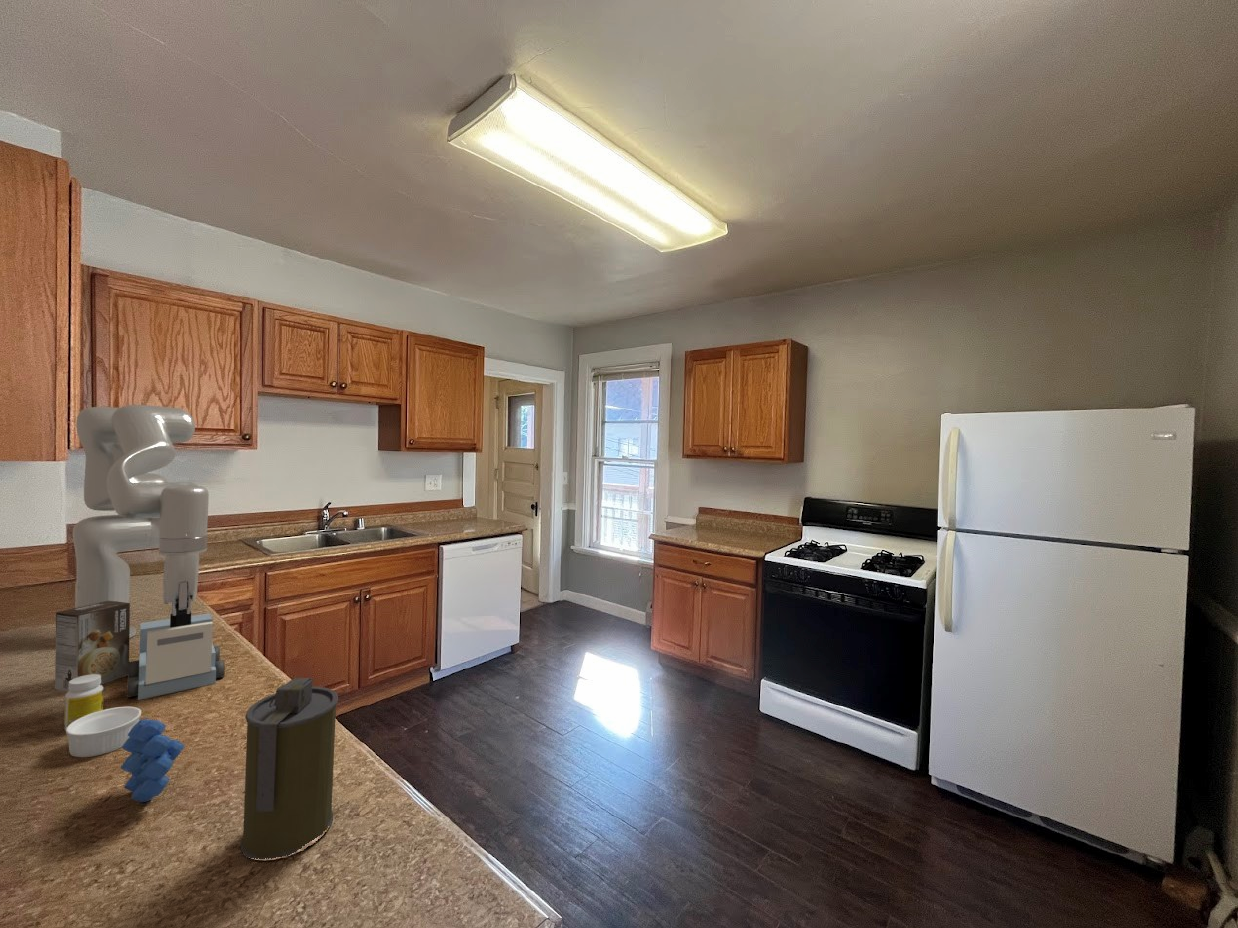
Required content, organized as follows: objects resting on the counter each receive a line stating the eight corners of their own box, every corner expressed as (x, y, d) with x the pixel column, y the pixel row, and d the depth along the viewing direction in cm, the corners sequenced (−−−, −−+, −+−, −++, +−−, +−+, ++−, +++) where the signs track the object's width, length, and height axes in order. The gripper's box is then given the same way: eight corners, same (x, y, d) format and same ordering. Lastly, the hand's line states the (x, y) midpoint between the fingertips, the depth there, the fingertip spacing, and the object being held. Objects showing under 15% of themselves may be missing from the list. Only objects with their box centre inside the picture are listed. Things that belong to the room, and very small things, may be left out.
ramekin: (150, 739, 86) (151, 714, 86) (79, 766, 78) (79, 739, 78) (126, 725, 90) (126, 701, 90) (55, 750, 82) (55, 724, 82)
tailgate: (144, 684, 99) (146, 631, 98) (211, 671, 106) (213, 621, 106) (144, 687, 98) (146, 633, 97) (211, 673, 105) (214, 623, 105)
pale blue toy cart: (128, 674, 109) (130, 624, 109) (217, 657, 119) (219, 611, 119) (126, 702, 97) (128, 647, 97) (225, 681, 108) (226, 630, 108)
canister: (272, 804, 72) (277, 667, 72) (346, 803, 73) (352, 668, 72) (217, 866, 61) (224, 705, 61) (306, 864, 62) (312, 705, 62)
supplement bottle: (108, 721, 91) (110, 675, 91) (73, 734, 86) (75, 686, 86) (93, 715, 92) (94, 671, 92) (57, 728, 88) (59, 681, 88)
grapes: (199, 799, 72) (203, 717, 72) (137, 827, 66) (140, 739, 66) (168, 770, 78) (171, 694, 78) (108, 794, 72) (111, 712, 72)
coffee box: (107, 671, 110) (109, 599, 110) (129, 675, 108) (132, 602, 108) (52, 690, 101) (55, 611, 101) (76, 694, 99) (79, 615, 99)
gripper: (158, 540, 106) (155, 626, 106) (159, 552, 95) (156, 647, 95) (203, 538, 111) (200, 619, 111) (210, 549, 100) (206, 639, 101)
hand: (180, 632), depth 103 cm, fingers closed
